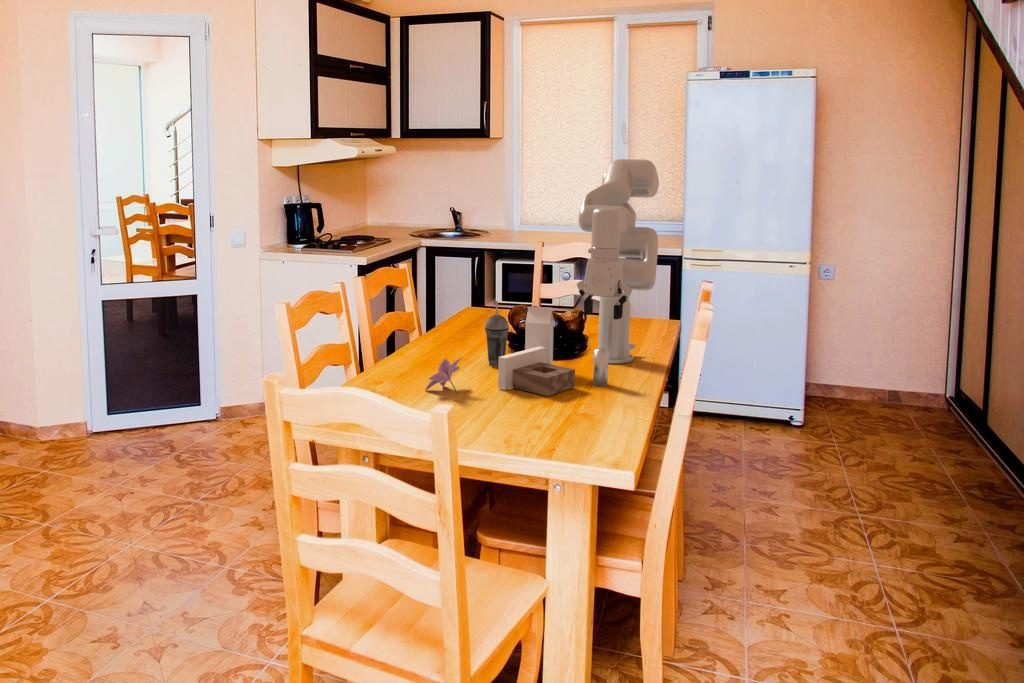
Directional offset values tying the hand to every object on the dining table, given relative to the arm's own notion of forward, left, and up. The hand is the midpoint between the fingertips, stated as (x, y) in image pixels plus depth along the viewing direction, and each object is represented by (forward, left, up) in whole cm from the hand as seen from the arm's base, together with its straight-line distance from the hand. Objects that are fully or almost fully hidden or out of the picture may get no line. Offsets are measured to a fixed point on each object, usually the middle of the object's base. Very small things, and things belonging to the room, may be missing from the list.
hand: (602, 316), depth 244 cm
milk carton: (0, -22, -20) cm, 30 cm away
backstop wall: (+14, -17, -19) cm, 29 cm away
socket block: (+14, -9, -19) cm, 25 cm away
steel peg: (0, 0, -19) cm, 19 cm away
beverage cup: (+4, -35, -20) cm, 40 cm away
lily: (+34, -27, -20) cm, 48 cm away
